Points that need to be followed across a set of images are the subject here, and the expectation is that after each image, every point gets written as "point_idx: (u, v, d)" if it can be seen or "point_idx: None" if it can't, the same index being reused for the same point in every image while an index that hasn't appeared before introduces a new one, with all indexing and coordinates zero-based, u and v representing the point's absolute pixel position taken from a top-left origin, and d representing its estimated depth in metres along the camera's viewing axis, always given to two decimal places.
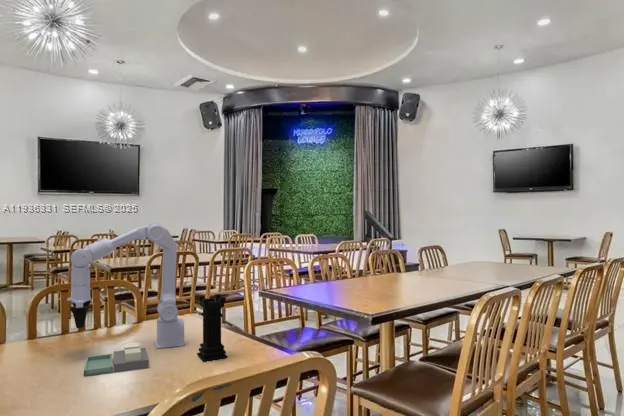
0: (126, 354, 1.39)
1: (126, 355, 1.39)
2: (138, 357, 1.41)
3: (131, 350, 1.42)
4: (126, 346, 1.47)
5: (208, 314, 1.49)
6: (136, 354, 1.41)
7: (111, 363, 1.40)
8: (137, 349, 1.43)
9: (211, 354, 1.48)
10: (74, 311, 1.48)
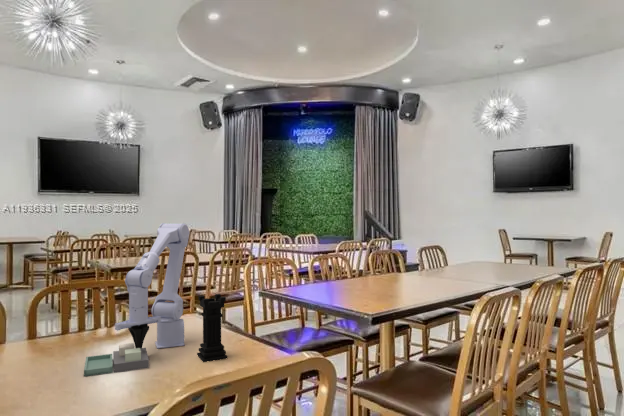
0: (126, 354, 1.39)
1: (126, 355, 1.39)
2: (138, 357, 1.41)
3: (131, 350, 1.42)
4: (121, 347, 1.46)
5: (208, 314, 1.49)
6: (136, 354, 1.41)
7: (111, 363, 1.40)
8: (137, 349, 1.43)
9: (211, 354, 1.48)
10: (129, 330, 1.48)
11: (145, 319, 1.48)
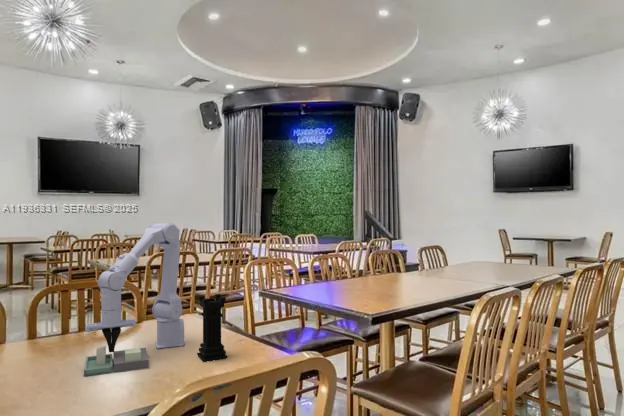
0: (126, 354, 1.39)
1: (126, 355, 1.39)
2: (138, 357, 1.41)
3: (131, 350, 1.42)
4: None
5: (208, 314, 1.49)
6: (136, 354, 1.41)
7: (111, 363, 1.40)
8: (137, 349, 1.43)
9: (211, 354, 1.48)
10: None
11: (116, 322, 1.44)
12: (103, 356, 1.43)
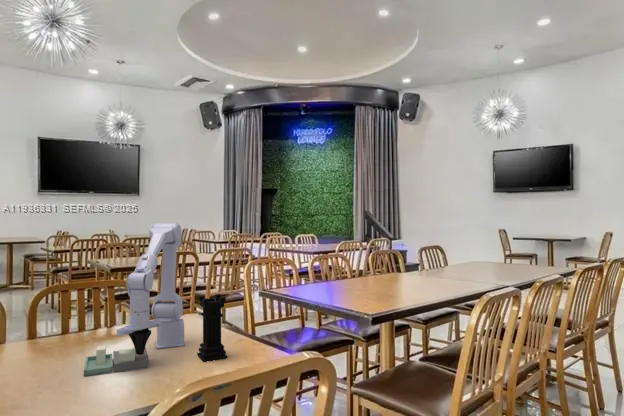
0: (120, 354, 1.39)
1: (120, 355, 1.39)
2: (132, 357, 1.40)
3: (125, 350, 1.42)
4: None
5: (208, 314, 1.49)
6: (130, 355, 1.40)
7: (111, 363, 1.40)
8: (132, 350, 1.42)
9: (211, 354, 1.48)
10: (130, 336, 1.42)
11: (148, 323, 1.42)
12: (103, 356, 1.43)
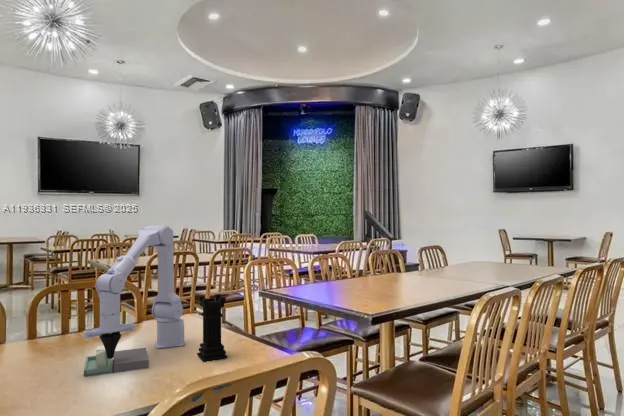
0: None
1: None
2: (101, 356, 1.38)
3: None
4: None
5: (208, 314, 1.49)
6: (98, 358, 1.38)
7: (111, 363, 1.40)
8: None
9: (211, 354, 1.48)
10: (100, 338, 1.39)
11: (116, 327, 1.38)
12: None
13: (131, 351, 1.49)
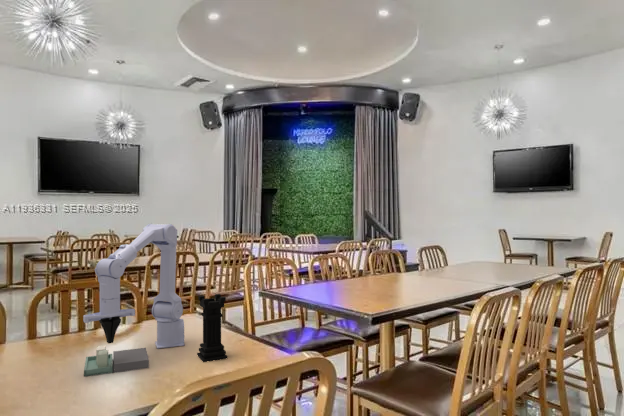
0: None
1: None
2: (103, 356, 1.38)
3: None
4: None
5: (208, 314, 1.49)
6: (100, 358, 1.38)
7: (111, 363, 1.40)
8: None
9: (211, 354, 1.48)
10: (100, 323, 1.39)
11: (116, 311, 1.38)
12: None
13: (131, 351, 1.49)
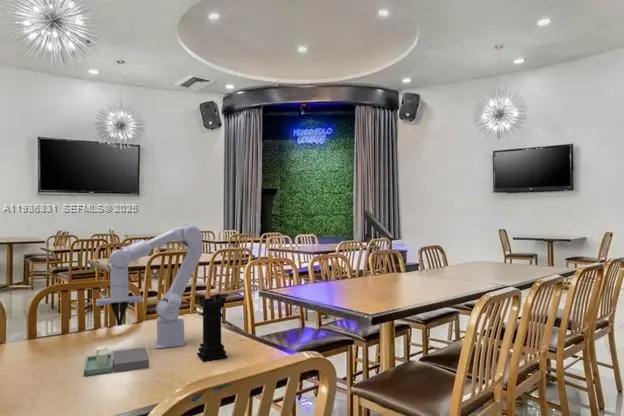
0: None
1: None
2: (103, 356, 1.38)
3: None
4: None
5: (208, 314, 1.49)
6: (100, 358, 1.38)
7: (111, 363, 1.40)
8: None
9: (211, 354, 1.48)
10: None
11: (123, 297, 1.55)
12: None
13: (131, 351, 1.49)
